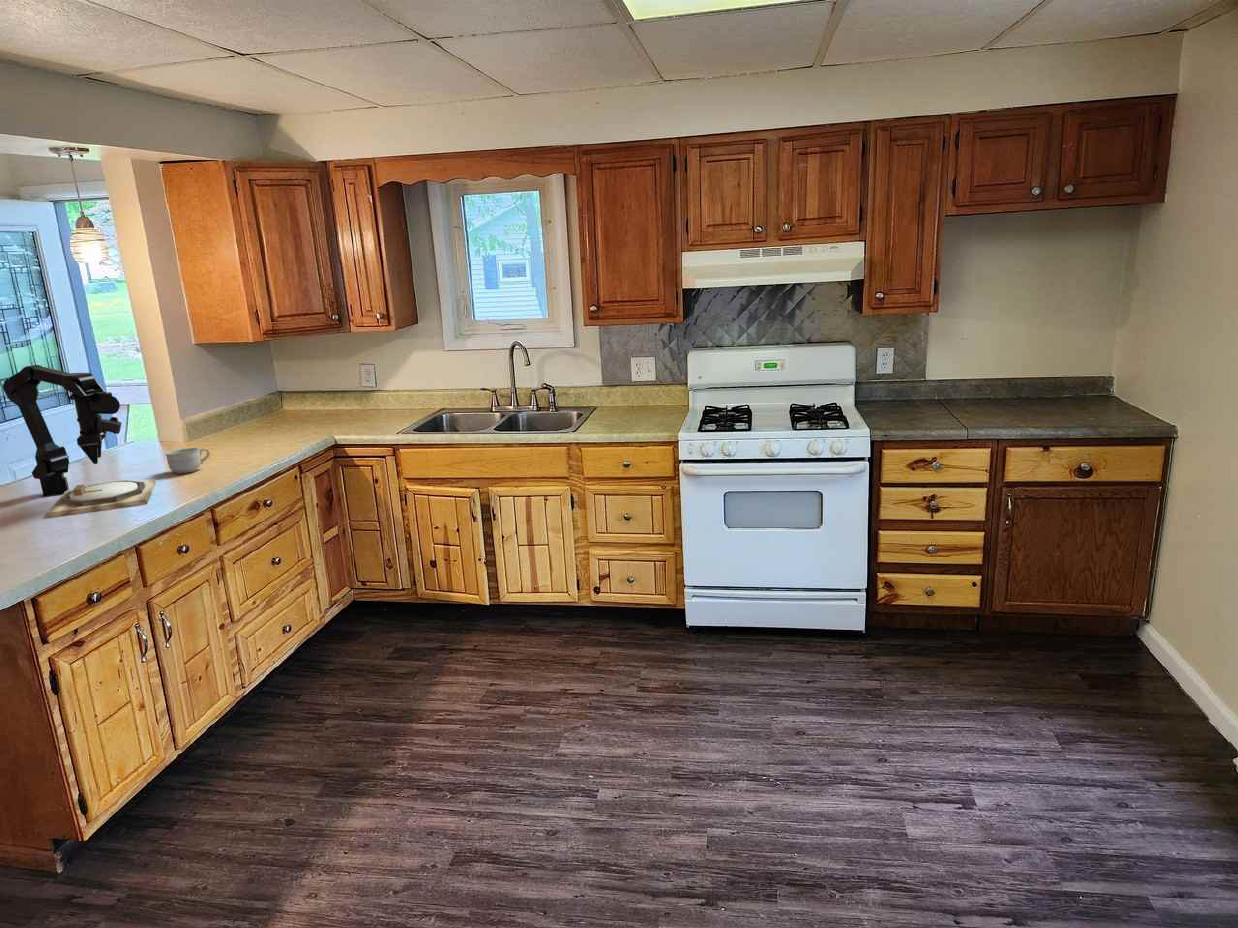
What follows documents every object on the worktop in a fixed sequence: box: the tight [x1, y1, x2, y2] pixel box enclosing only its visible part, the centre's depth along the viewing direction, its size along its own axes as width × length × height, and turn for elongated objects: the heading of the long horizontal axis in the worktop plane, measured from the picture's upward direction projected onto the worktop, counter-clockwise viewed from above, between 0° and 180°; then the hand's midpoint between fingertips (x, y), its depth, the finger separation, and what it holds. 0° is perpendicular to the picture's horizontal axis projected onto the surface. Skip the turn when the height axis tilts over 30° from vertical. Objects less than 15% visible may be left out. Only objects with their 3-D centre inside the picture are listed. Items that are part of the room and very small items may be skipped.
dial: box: [69, 481, 138, 500], centre depth 257 cm, size 19×19×4 cm
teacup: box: [165, 447, 211, 474], centre depth 289 cm, size 14×11×8 cm
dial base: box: [47, 479, 157, 518], centre depth 257 cm, size 26×26×3 cm
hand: (97, 460), depth 259 cm, fingers open, 9 cm apart
